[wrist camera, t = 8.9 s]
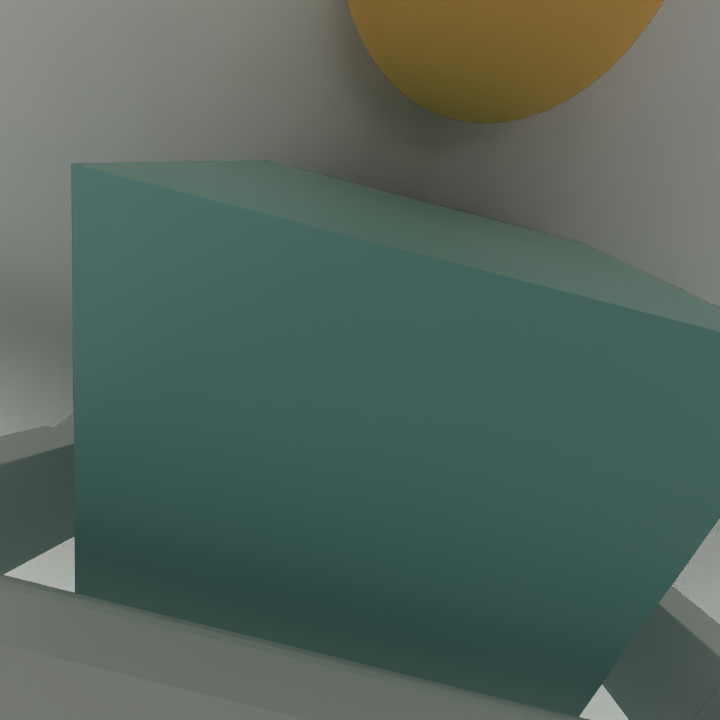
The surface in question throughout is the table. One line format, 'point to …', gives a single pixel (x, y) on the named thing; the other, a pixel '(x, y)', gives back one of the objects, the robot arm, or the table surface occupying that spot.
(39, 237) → the table surface
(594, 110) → the table surface
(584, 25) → the ball
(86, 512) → the teal rectangular box
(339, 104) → the table surface
